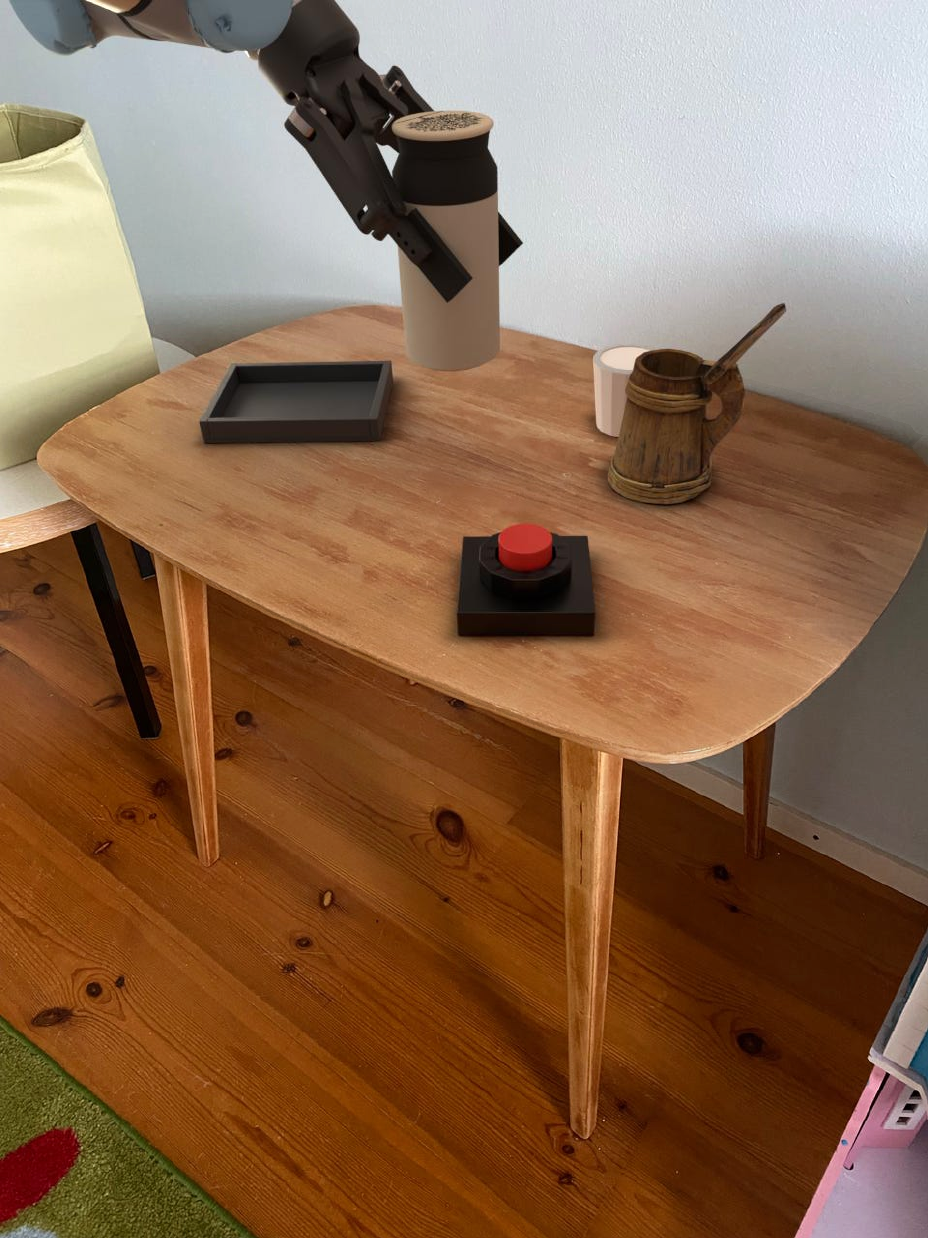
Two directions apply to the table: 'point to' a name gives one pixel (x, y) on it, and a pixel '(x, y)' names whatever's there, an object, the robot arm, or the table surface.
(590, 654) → the table surface
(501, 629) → the control block
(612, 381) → the white cup
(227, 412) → the tray
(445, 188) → the travel mug
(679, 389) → the wooden mug
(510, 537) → the button
